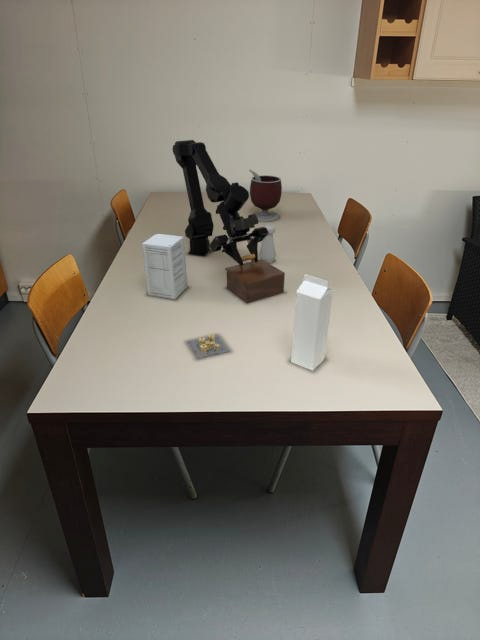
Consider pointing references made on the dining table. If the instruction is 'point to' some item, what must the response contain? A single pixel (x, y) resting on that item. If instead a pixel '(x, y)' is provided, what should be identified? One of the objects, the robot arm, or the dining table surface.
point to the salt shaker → (268, 246)
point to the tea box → (255, 288)
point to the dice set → (207, 346)
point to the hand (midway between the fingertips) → (249, 263)
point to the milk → (311, 322)
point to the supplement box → (165, 265)
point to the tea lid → (254, 270)
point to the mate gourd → (265, 195)
